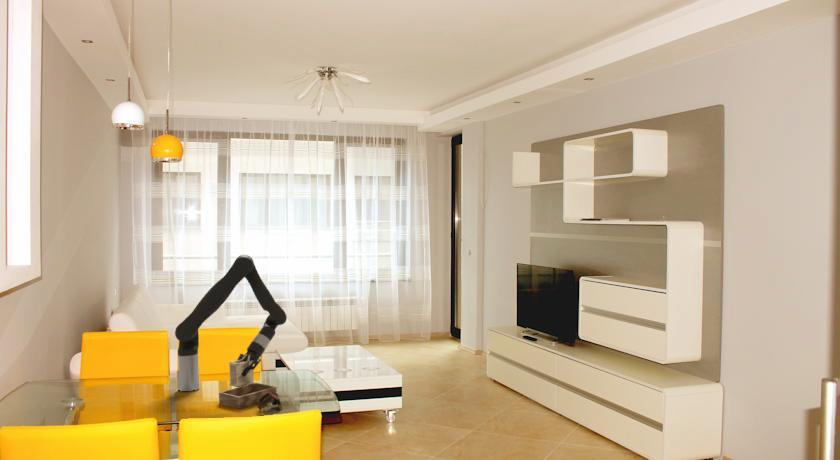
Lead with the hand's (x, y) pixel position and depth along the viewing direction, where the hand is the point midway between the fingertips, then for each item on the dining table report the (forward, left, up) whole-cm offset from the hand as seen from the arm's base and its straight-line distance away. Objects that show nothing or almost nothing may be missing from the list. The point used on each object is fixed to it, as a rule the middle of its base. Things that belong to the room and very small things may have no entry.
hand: (238, 374), depth 304 cm
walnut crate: (+11, -11, -9) cm, 18 cm away
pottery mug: (+28, -22, -9) cm, 36 cm away
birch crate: (+1, +2, -5) cm, 5 cm away
